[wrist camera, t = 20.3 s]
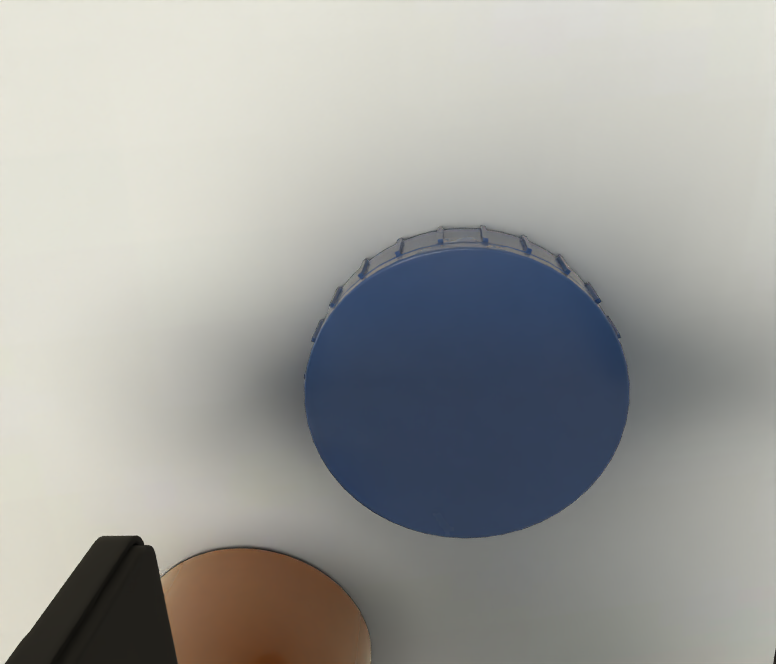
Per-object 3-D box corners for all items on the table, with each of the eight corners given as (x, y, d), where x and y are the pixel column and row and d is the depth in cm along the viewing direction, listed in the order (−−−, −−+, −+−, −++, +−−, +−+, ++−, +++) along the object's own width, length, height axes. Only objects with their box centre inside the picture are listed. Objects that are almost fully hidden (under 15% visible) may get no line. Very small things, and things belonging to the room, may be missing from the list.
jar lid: (302, 228, 16) (286, 248, 14) (626, 220, 15) (647, 240, 14) (325, 497, 18) (314, 540, 17) (603, 499, 18) (619, 543, 16)
